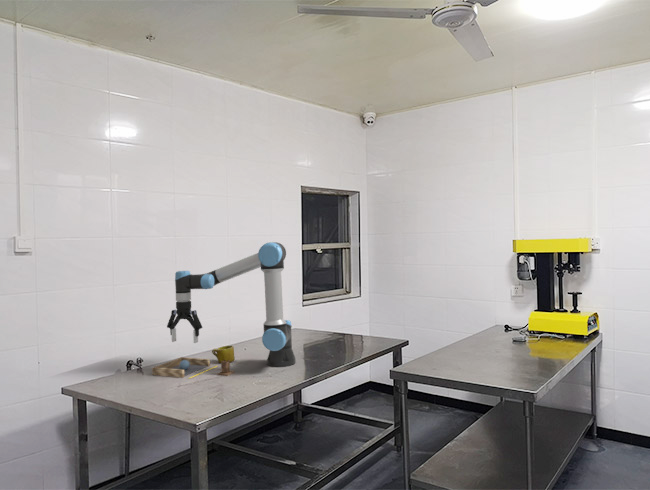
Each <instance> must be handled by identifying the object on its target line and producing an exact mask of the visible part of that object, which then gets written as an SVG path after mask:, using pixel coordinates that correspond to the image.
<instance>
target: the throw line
mask: <svg viewBox="0 0 650 490" xmlns="http://www.w3.org/2000/svg"><path fill="white" fill-rule="evenodd" d="M217 367H218V365H215V366H212V367H211V368H208V369H206V370H204V371H201V372H199V373H197V374H194V375H192V376H190V377H188V379H192V378H194V377H197V376H199V375H202V374H204V373H206V372H208V371H210V370H213V369H215V368H217Z"/></svg>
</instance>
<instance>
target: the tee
mask: <svg viewBox="0 0 650 490" xmlns="http://www.w3.org/2000/svg"><path fill="white" fill-rule="evenodd" d="M220 365H221V367H220V370H221V371H220V372H217V376H223V377H225V376H226V377H229V376H231V375H232V374H234V373H235V370H231V367H230V365H231V362H230V360H228V361H226V360H224V361H221V363H220Z"/></svg>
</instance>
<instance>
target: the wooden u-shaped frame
mask: <svg viewBox="0 0 650 490" xmlns="http://www.w3.org/2000/svg"><path fill="white" fill-rule="evenodd" d="M183 360H187V361H188V362H189V364H191V365H204V366H207V367H210V366H211V361H210V358H196V357H195V358H194V357H183V356H181V357H179V358H176V359H173V360H170V361H167V362H165V363H162V364H159V365H157V366H154V367H152V368H151V369H152V371H151V372H152V375H153V376H161V377H171V378H172V377H173V378H184V377H186V376H184V370H182V369H170V368H173V367H175V366H178V365H180V362H181V361H183Z"/></svg>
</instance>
